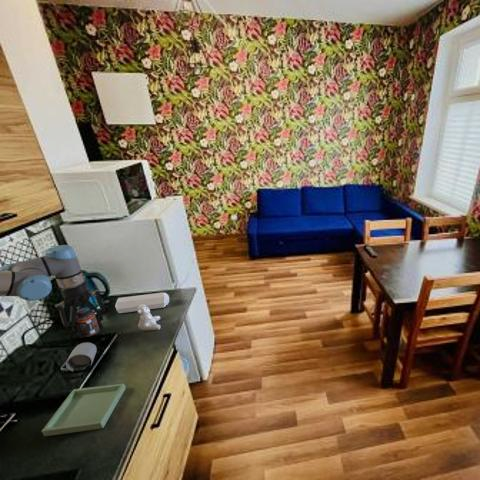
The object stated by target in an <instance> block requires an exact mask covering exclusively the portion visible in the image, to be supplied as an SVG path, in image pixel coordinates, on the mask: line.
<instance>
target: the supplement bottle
mask: <svg viewBox="0 0 480 480" xmlns="http://www.w3.org/2000/svg"><path fill="white" fill-rule="evenodd" d="M95 314H96V312H95V311H94V310H91V309H90V307H89V306H88V307H87V306H86V307H82V308H80V309H77V310H76V322H77V323H78V325H79V328H80V330H81V332H82V335H83V338H88V337H92V336H94V335H96V334H98V333H99V332H100V330H101V329H100V327H99V324H98V322H97V319H96V316H95Z"/></svg>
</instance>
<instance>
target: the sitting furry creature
mask: <svg viewBox="0 0 480 480" xmlns="http://www.w3.org/2000/svg"><path fill="white" fill-rule="evenodd" d="M136 312H137V313H138V314H139V315H140V316H139V321H138V324H137V327H138V329H140V330H141V331H144V332H145V331H147V332H148V331H159V330H160V329H161V328H162V327H161V324H158V323H157V322H158V321H160V320H161V316H160V315H154V316H153V315H152V313H151V309H149V308H148V307H146V306H145V305H144V304H142V305H141V304H140V306H139V307H138V309H137V311H136Z"/></svg>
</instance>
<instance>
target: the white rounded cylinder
mask: <svg viewBox="0 0 480 480" xmlns="http://www.w3.org/2000/svg"><path fill="white" fill-rule="evenodd" d="M169 303H170V296H169V294H168V293H167V292H155V293H148V294H147V293H146V294H139V295H131V296H123V297H118V298H117V300H116V302H115V305H114V307H115V309H116V312H117V313H118V314H125V313H133V312H138V311H137V309H138V307H139V306H140V304H141V305H142V304H144V305H145V306H146V307H148V308H149V310H154V309H162V308H165V307H167V306H168V305H169ZM166 305H167V306H166Z"/></svg>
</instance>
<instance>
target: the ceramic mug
mask: <svg viewBox="0 0 480 480" xmlns="http://www.w3.org/2000/svg"><path fill="white" fill-rule="evenodd" d="M97 349H98V348H97V345H96V344H94V343H92V342H89V341H87V342H81V343H79V344H77V345H76V346H75V347H74V348H73V350H72V351H71V353H70V355H69V356H68V358H67V359H66V361H65V362H64V363H63V364H62V365H61V367H60V370H61V371H62V370H63V371H62V372H64V371H66V372H69V371H71V372H74V371H73V370H74V367H75V365H84V364H88V363H90V361H91V364H90V365H91V366H92V365H93V363H94V359H95V356H96V354H97ZM65 365H66V368H63V367H64V366H65Z"/></svg>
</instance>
